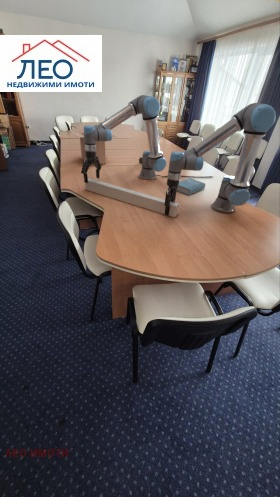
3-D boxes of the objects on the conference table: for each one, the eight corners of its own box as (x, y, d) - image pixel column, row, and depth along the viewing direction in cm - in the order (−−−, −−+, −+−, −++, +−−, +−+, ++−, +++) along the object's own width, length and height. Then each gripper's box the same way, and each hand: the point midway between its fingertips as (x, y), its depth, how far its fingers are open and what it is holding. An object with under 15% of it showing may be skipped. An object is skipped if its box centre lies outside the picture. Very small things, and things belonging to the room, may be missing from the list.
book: (188, 183, 198) (190, 178, 195) (204, 189, 190) (205, 183, 187) (173, 189, 185) (174, 183, 182) (188, 195, 176) (190, 189, 173)
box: (116, 165, 229) (116, 136, 213) (83, 168, 214) (80, 137, 198) (102, 154, 259) (101, 128, 243) (71, 156, 244) (68, 129, 228)
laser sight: (158, 166, 235) (159, 156, 229) (137, 164, 238) (138, 154, 232) (159, 164, 243) (160, 154, 237) (139, 161, 245) (140, 152, 239)
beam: (85, 189, 174) (84, 179, 169) (89, 187, 177) (89, 177, 172) (174, 217, 145) (176, 206, 141) (177, 214, 149) (179, 203, 144)
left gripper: (82, 154, 146) (84, 185, 158) (105, 148, 164) (106, 177, 176) (73, 152, 148) (77, 183, 161) (97, 147, 166) (98, 175, 179)
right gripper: (173, 184, 127) (167, 219, 141) (184, 176, 140) (178, 209, 154) (161, 181, 130) (157, 216, 144) (173, 173, 143) (168, 206, 157)
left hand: (92, 180), depth 168 cm, fingers open, 13 cm apart
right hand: (168, 212), depth 149 cm, fingers closed on beam, 5 cm apart
